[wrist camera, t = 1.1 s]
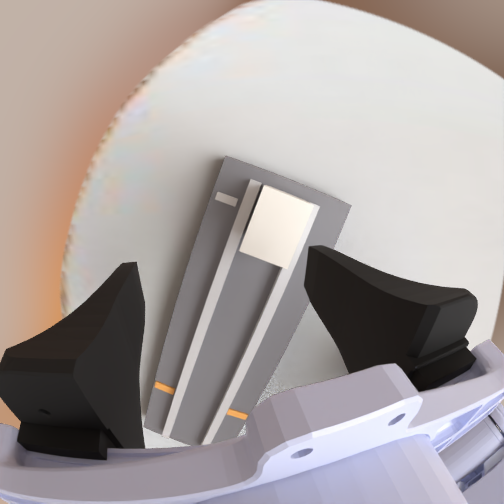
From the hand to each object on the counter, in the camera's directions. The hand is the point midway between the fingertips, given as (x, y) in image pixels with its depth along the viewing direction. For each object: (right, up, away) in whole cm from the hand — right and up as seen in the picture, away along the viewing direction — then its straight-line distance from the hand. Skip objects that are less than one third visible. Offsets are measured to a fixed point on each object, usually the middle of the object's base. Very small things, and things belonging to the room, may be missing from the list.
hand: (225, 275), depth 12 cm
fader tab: (+3, +3, +10) cm, 11 cm away
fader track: (-1, -7, +15) cm, 16 cm away
